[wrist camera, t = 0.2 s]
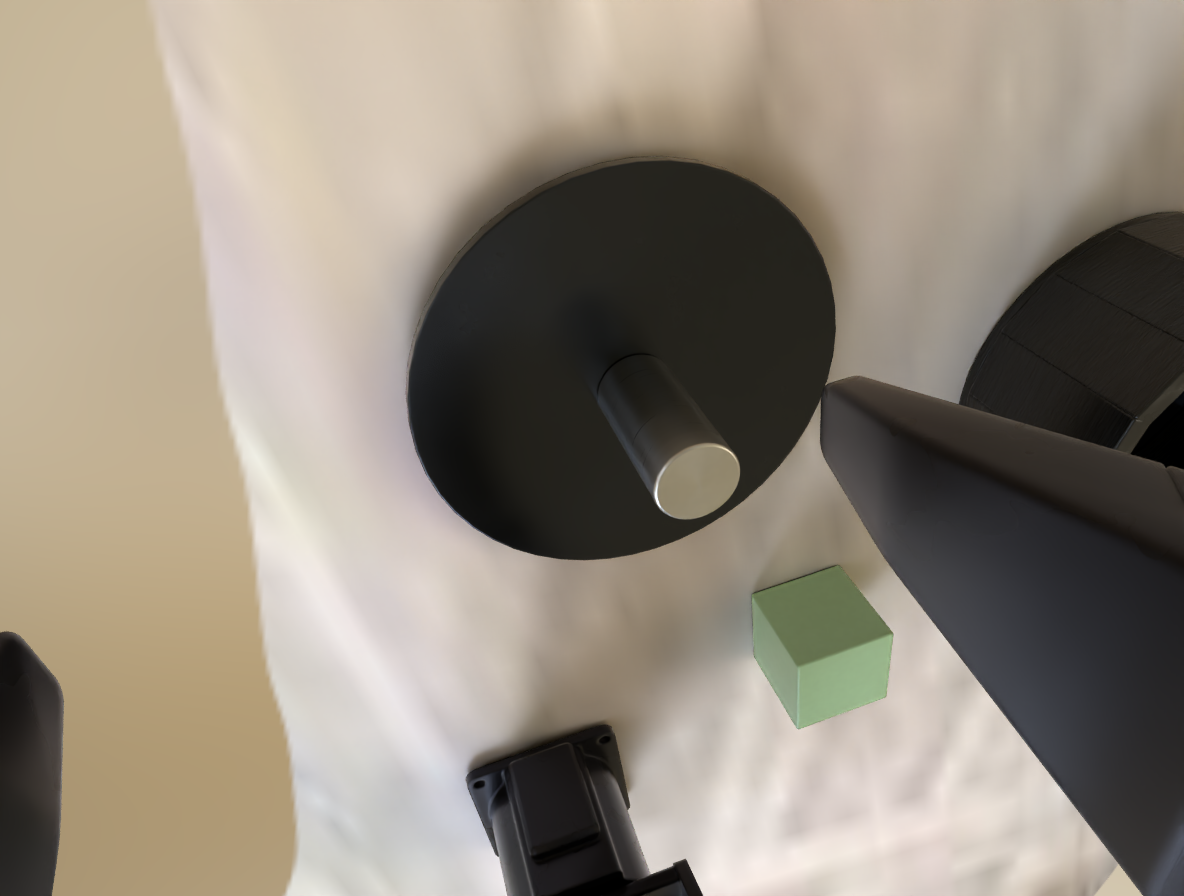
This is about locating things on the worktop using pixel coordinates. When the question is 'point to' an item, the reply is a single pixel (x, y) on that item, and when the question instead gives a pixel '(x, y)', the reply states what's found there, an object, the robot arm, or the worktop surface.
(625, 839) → the robot arm
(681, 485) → the tin lid
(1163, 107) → the worktop surface
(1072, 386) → the tin
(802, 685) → the block
